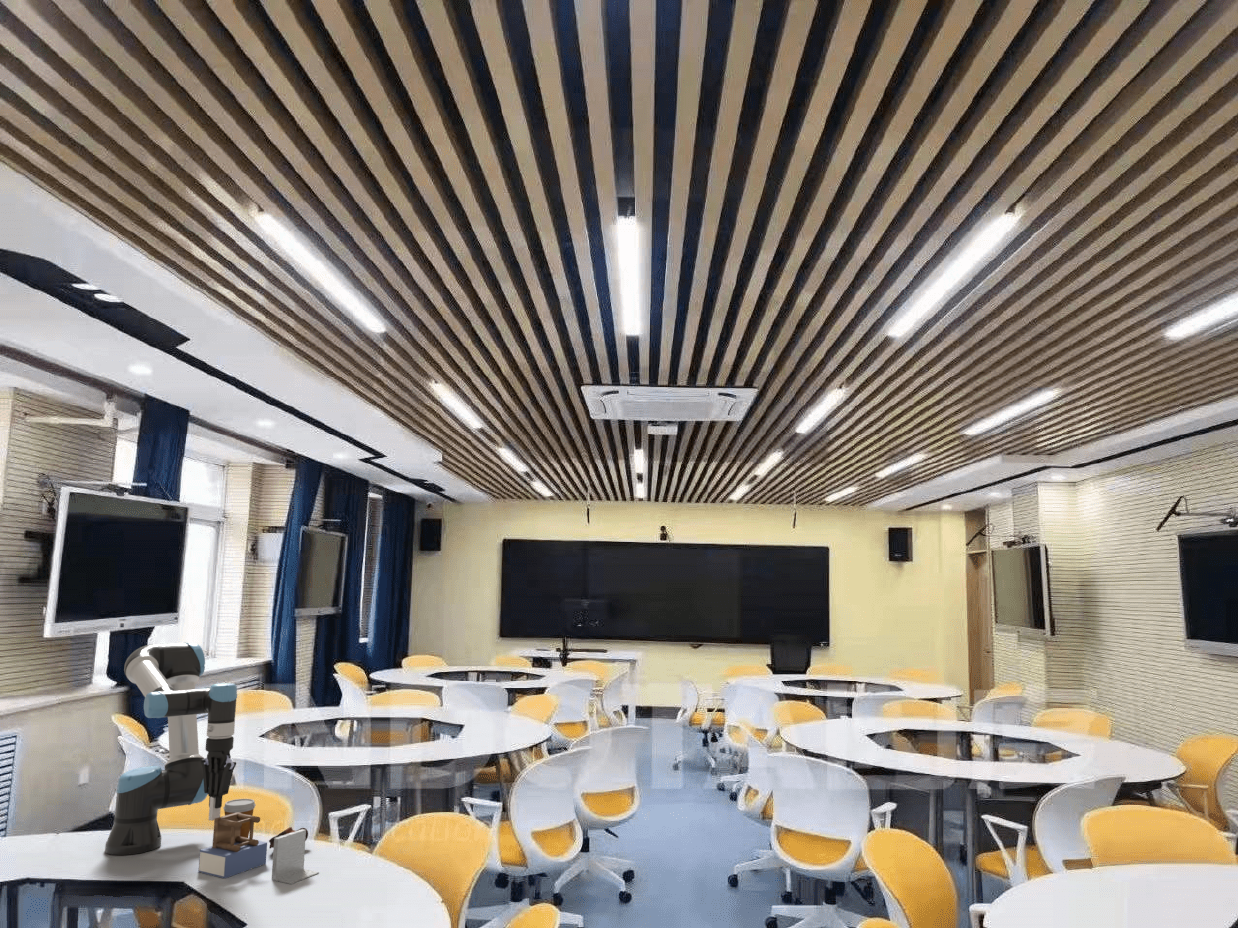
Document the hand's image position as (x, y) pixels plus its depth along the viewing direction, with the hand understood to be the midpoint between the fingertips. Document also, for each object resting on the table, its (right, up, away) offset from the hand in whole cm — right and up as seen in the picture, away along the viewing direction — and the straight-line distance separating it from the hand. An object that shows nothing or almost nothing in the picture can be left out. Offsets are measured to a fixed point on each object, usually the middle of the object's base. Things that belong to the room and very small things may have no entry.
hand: (214, 819), depth 249 cm
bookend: (+29, -11, -12) cm, 33 cm away
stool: (+9, -6, -5) cm, 12 cm away
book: (+8, -12, -6) cm, 15 cm away
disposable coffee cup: (-2, -15, +19) cm, 25 cm away
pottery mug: (+19, -14, +9) cm, 25 cm away
